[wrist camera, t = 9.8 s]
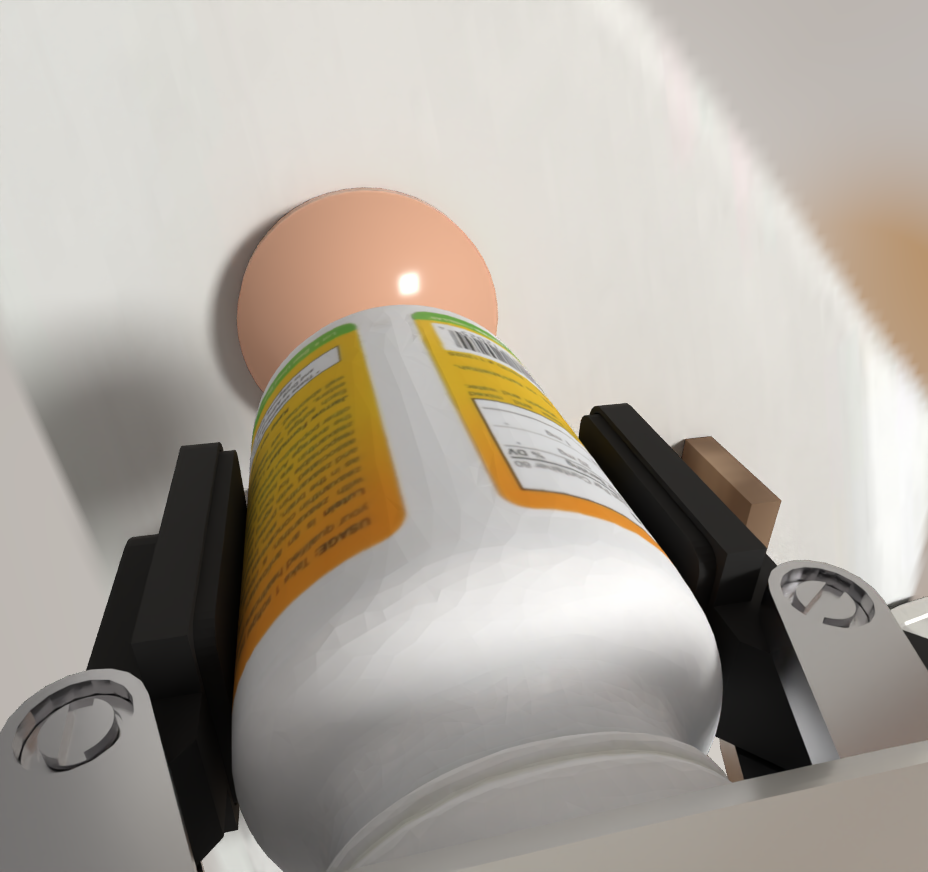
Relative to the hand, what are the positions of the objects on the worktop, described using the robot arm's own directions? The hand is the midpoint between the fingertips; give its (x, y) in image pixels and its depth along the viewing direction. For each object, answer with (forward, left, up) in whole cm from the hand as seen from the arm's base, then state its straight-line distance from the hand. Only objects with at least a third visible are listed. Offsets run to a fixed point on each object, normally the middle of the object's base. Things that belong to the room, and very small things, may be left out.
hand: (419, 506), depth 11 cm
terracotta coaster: (0, 0, -9) cm, 9 cm away
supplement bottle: (0, 0, -3) cm, 3 cm away
